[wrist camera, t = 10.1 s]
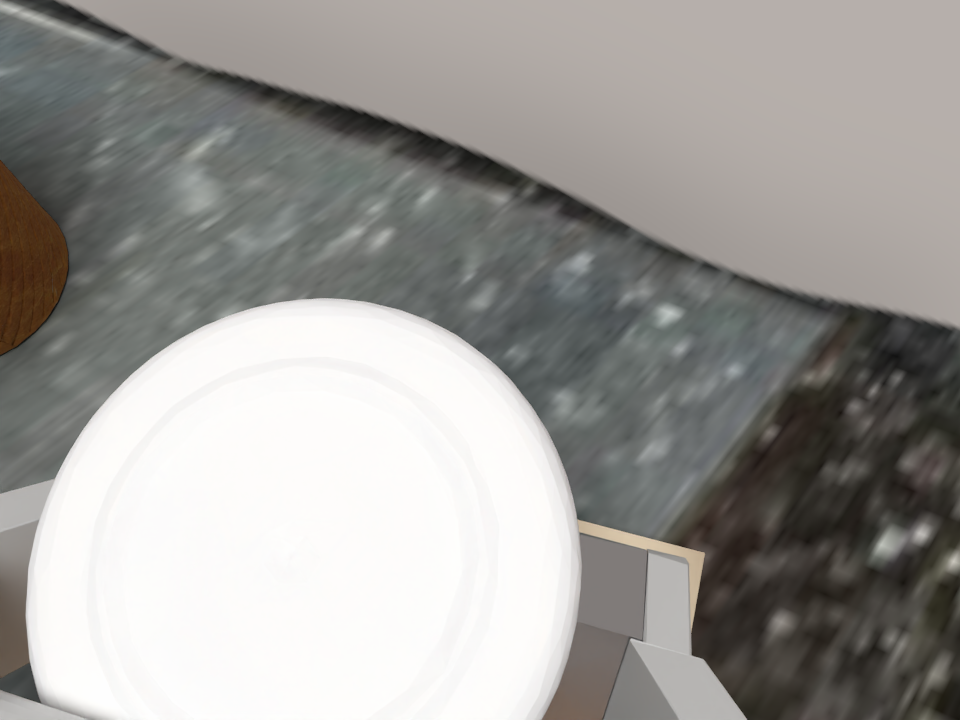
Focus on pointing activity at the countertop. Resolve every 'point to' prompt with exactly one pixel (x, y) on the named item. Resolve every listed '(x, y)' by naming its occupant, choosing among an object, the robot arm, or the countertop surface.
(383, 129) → the countertop surface
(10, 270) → the disposable coffee cup
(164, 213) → the countertop surface
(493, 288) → the countertop surface
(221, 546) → the sprinkles bottle
